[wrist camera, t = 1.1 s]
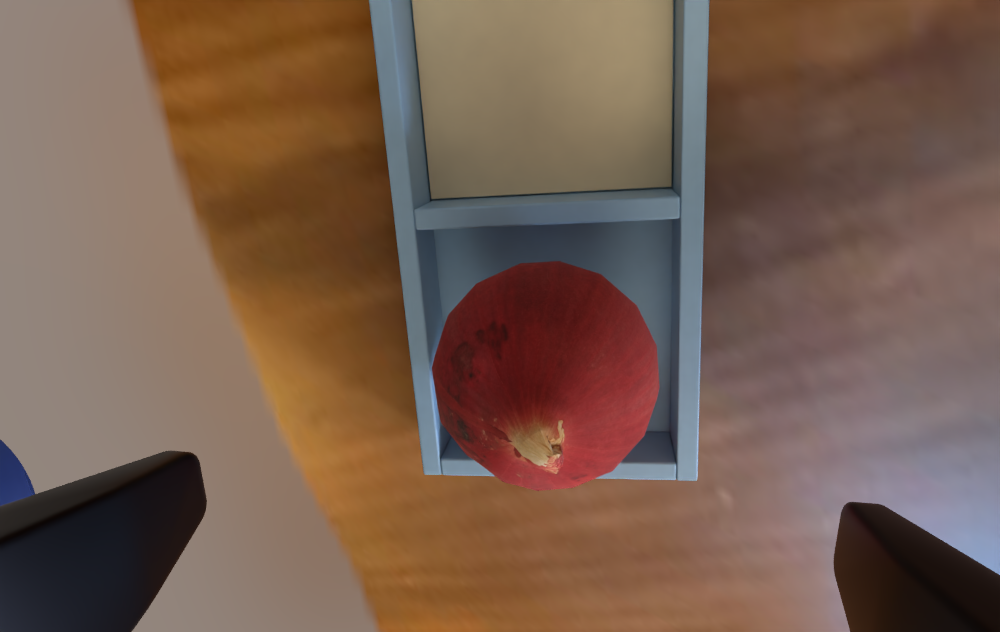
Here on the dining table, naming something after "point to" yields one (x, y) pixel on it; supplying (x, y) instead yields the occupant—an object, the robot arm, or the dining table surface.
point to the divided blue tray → (551, 177)
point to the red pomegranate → (546, 375)
